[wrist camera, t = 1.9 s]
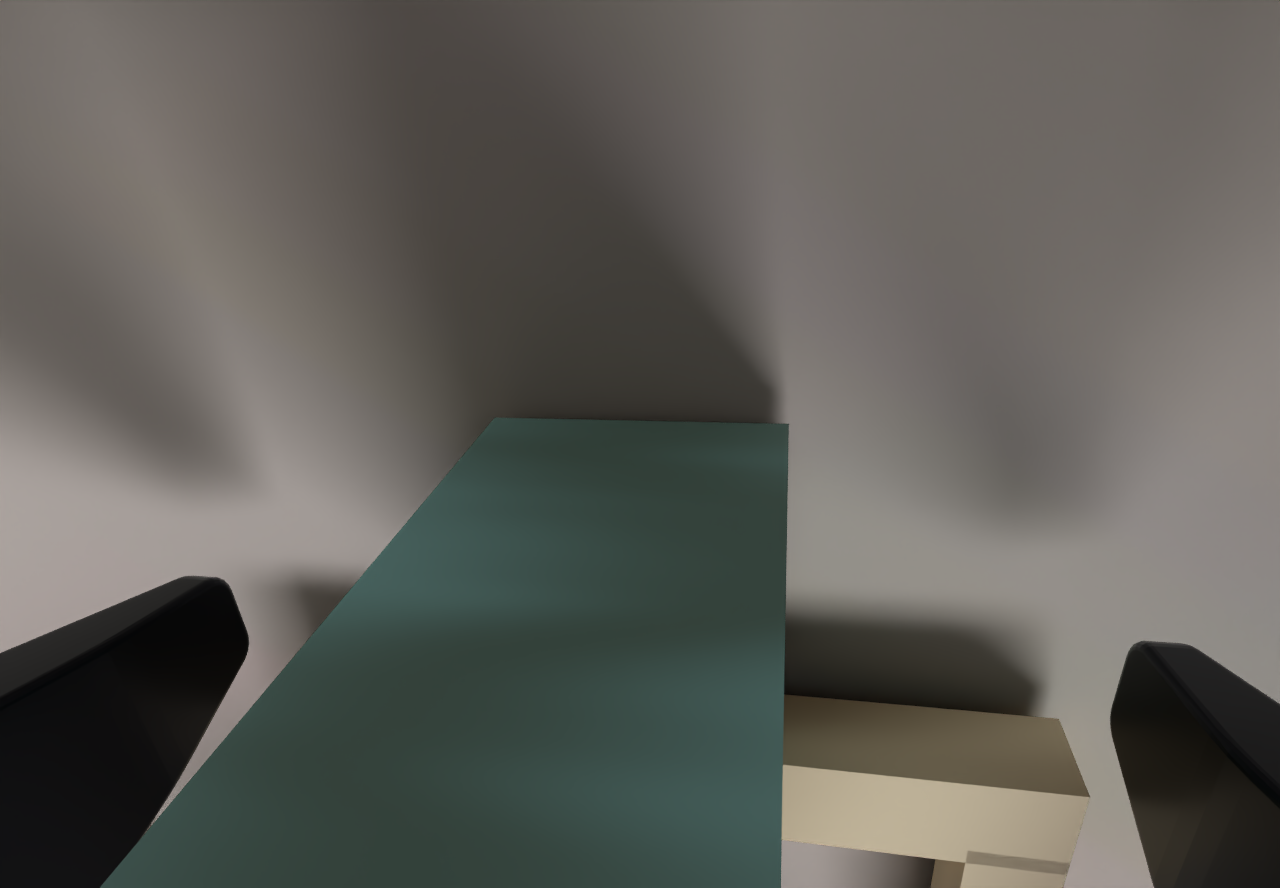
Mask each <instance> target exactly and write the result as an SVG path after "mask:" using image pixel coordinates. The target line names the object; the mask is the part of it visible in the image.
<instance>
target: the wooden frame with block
mask: <svg viewBox="0 0 1280 888" xmlns="http://www.w3.org/2000/svg"><path fill="white" fill-rule="evenodd" d="M788 434H789V424H769V423H723V422H677V421H630V420H584V419H538V418H494V419H493V420H492V422H491V423H490V424H489V425H488V426H487V427H486V429H485V430H484V431H483V432H482V433H481V435H480V436H479V437H478V438H477V439H476V441H475V442H474V443H473V444H472V445H471V447H470V448H469V449H468V450H467V451H466V452H465V454H464V455H463V456H462V457H461V458H460V460H459V461H458V462H457V463H456V464H455V466H454V467H453V468H452V469H451V470H450V472H449V473H448V474H447V475H446V476H445V477H444V479H443V480H442V481H441V482H440V483H439V485H438V486H437V487H436V488H435V489H434V491H433V492H432V493H431V494H430V495H429V497H428V498H427V499H426V500H425V501H424V502H423V504H422V505H421V506H420V507H419V508H418V510H417V511H416V512H415V513H414V514H413V516H412V517H411V518H410V519H409V520H408V521H407V523H406V524H405V525H404V526H403V527H402V529H401V530H400V531H399V532H398V533H397V535H396V536H395V537H394V538H393V539H392V541H391V542H390V543H389V544H388V545H387V546H386V548H385V549H384V550H383V551H382V552H381V554H380V555H379V556H378V557H377V558H376V560H375V561H374V562H373V563H372V564H371V566H370V567H369V568H368V569H367V570H366V571H365V573H364V574H363V575H362V576H361V577H360V579H359V580H358V581H357V582H356V583H355V585H354V586H353V587H352V588H351V589H350V591H349V592H348V593H347V594H346V595H345V596H344V598H343V599H342V600H341V601H340V602H339V604H338V605H337V606H336V607H335V608H334V610H333V611H332V612H331V613H330V614H329V616H328V617H327V618H326V619H325V620H324V621H323V623H322V624H321V625H320V626H319V627H318V629H317V630H316V631H315V632H314V633H313V635H312V636H311V637H310V638H309V639H308V640H307V642H306V643H305V644H304V645H303V646H302V648H301V649H300V650H299V651H298V652H297V654H296V655H295V656H294V657H293V658H292V660H291V661H290V662H289V663H288V664H287V665H286V667H285V668H284V669H283V670H282V671H281V673H280V674H279V675H278V676H277V677H276V679H275V680H274V681H273V682H272V683H271V685H270V686H269V687H268V688H267V689H266V690H265V692H264V693H263V694H262V695H261V696H260V698H259V699H258V700H257V701H256V702H255V704H254V705H253V706H252V707H251V708H250V710H249V711H248V712H247V713H246V714H245V715H244V717H243V718H242V719H241V720H240V721H239V723H238V724H237V725H236V726H235V727H234V729H233V730H232V731H231V732H230V733H229V734H228V736H227V737H226V738H225V739H224V740H223V742H222V743H221V744H220V745H219V746H218V748H217V749H216V750H215V751H214V752H213V754H212V755H211V756H210V757H209V758H208V759H207V761H206V762H205V763H204V764H203V765H202V767H201V768H200V769H199V770H198V771H197V773H196V774H195V775H194V776H193V777H192V779H191V780H190V781H189V782H188V783H187V784H186V786H185V787H184V788H183V789H182V790H181V792H180V793H179V794H178V795H177V796H176V798H175V799H174V800H173V801H172V802H171V804H170V805H169V806H168V807H167V808H166V809H165V811H164V812H163V813H162V814H161V815H160V817H159V818H158V819H157V820H156V821H155V823H154V824H153V825H152V826H151V827H150V828H149V830H148V831H147V832H146V833H145V834H144V836H143V837H142V838H141V839H140V840H139V842H138V843H137V844H136V845H135V846H134V848H133V849H132V850H131V851H130V852H129V853H128V855H127V856H126V857H125V858H124V859H123V861H122V862H121V863H120V864H119V865H118V867H117V868H116V869H115V870H114V871H113V873H112V874H111V875H110V876H109V877H108V878H107V880H106V881H105V882H104V883H103V884H102V886H101V887H100V888H781V841H782V840H787V841H795V842H803V843H811V844H819V845H827V846H835V847H843V848H851V849H859V850H867V851H875V852H883V853H891V854H899V855H907V856H915V857H923V858H931V859H935V865H934V870H933V876H932V882H931V887H930V888H1063V886H1064V882H1065V879H1066V876H1067V872H1068V869H1069V866H1070V862H1071V859H1072V856H1073V853H1074V849H1075V846H1076V843H1077V839H1078V836H1079V833H1080V829H1081V826H1082V823H1083V819H1084V816H1085V813H1086V809H1087V806H1088V803H1089V799H1090V796H1089V793H1088V791H1087V788H1086V786H1085V783H1084V781H1083V778H1082V776H1081V773H1080V771H1079V768H1078V766H1077V763H1076V761H1075V758H1074V756H1073V753H1072V751H1071V748H1070V746H1069V743H1068V741H1067V738H1066V736H1065V733H1064V731H1063V728H1062V726H1061V723H1060V721H1059V719H1054V718H1043V717H1032V716H1020V715H1009V714H998V713H987V712H975V711H964V710H953V709H941V708H930V707H919V706H908V705H896V704H885V703H874V702H863V701H851V700H840V699H829V698H818V697H806V696H795V695H784V667H785V608H786V550H787V492H788Z"/></svg>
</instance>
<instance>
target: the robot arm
mask: <svg viewBox="0 0 1280 888" xmlns="http://www.w3.org/2000/svg"><path fill="white" fill-rule="evenodd" d="M248 647H249V636H248V633H247V630H246V627H245V624H244V622H243V619H242V617H241V614H240V611H239V609H238V606H237V603H236V601H235V598H234V595H233V593H232V590H231V588H230V586H229V585H228V584H227V583H226V582H225V581H224V580H222V579H220V578H217V577H205V576H185V577H181V578H178V579H176V580H173V581H171V582H169V583H166V584H164V585H161V586H159V587H157V588H154V589H152V590H149V591H147V592H145V593H142V594H140V595H138V596H135V597H133V598H130V599H128V600H126V601H123V602H121V603H119V604H116V605H114V606H111V607H109V608H107V609H104V610H102V611H100V612H97V613H95V614H92V615H90V616H88V617H85V618H83V619H80V620H78V621H76V622H73V623H71V624H69V625H66V626H64V627H61V628H59V629H57V630H54V631H52V632H50V633H47V634H45V635H42V636H40V637H38V638H35V639H33V640H30V641H28V642H26V643H23V644H21V645H19V646H16V647H14V648H11V649H9V650H7V651H4V652H2V653H0V888H100V887H101V886H102V884H103V883H104V882H105V881H106V880H107V878H108V877H109V876H110V875H111V874H112V873H113V871H114V870H115V869H116V868H117V867H118V865H119V864H120V863H121V862H122V861H123V859H124V858H125V857H126V856H127V855H128V853H129V852H130V851H131V850H132V849H133V848H134V846H135V845H136V844H137V843H138V842H139V840H140V839H141V837H142V836H143V834H144V833H145V831H146V830H147V828H148V827H149V825H150V824H151V822H152V821H153V819H154V818H155V816H156V815H157V813H158V812H159V810H160V809H161V807H162V806H163V804H164V803H165V801H166V799H167V798H168V796H169V795H170V793H171V792H172V790H173V788H174V787H175V785H176V783H177V782H178V780H179V778H180V776H181V775H182V773H183V771H184V770H185V768H186V766H187V764H188V763H189V761H190V759H191V757H192V755H193V753H194V752H195V750H196V748H197V746H198V744H199V742H200V741H201V739H202V737H203V735H204V733H205V731H206V730H207V728H208V726H209V724H210V722H211V720H212V719H213V717H214V715H215V713H216V711H217V710H218V708H219V706H220V704H221V702H222V700H223V699H224V697H225V695H226V693H227V691H228V689H229V688H230V686H231V684H232V682H233V680H234V678H235V677H236V675H237V673H238V671H239V669H240V668H241V666H242V664H243V662H244V660H245V658H246V655H247V652H248ZM1110 725H1111V733H1112V738H1113V742H1114V746H1115V749H1116V753H1117V756H1118V760H1119V764H1120V767H1121V771H1122V774H1123V778H1124V782H1125V785H1126V789H1127V792H1128V796H1129V800H1130V803H1131V807H1132V811H1133V814H1134V818H1135V821H1136V825H1137V829H1138V832H1139V836H1140V839H1141V843H1142V847H1143V850H1144V854H1145V857H1146V861H1147V865H1148V868H1149V872H1150V875H1151V879H1152V883H1153V886H1154V888H1280V704H1279V703H1277V702H1276V701H1274V700H1273V699H1271V698H1270V697H1268V696H1267V695H1265V694H1264V693H1262V692H1261V691H1259V690H1258V689H1256V688H1255V687H1253V686H1252V685H1250V684H1249V683H1247V682H1246V681H1244V680H1243V679H1241V678H1240V677H1238V676H1237V675H1235V674H1234V673H1232V672H1231V671H1229V670H1228V669H1226V668H1225V667H1223V666H1222V665H1220V664H1219V663H1217V662H1216V661H1214V660H1213V659H1211V658H1210V657H1208V656H1207V655H1205V654H1204V653H1202V652H1201V651H1199V650H1198V649H1196V648H1194V647H1192V646H1190V645H1186V644H1181V643H1167V642H1152V641H1141V642H1138V643H1136V644H1134V645H1133V646H1132V647H1131V648H1130V650H1129V652H1128V654H1127V657H1126V661H1125V664H1124V667H1123V671H1122V674H1121V677H1120V681H1119V684H1118V688H1117V691H1116V694H1115V698H1114V701H1113V705H1112V709H1111V716H1110Z"/></svg>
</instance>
